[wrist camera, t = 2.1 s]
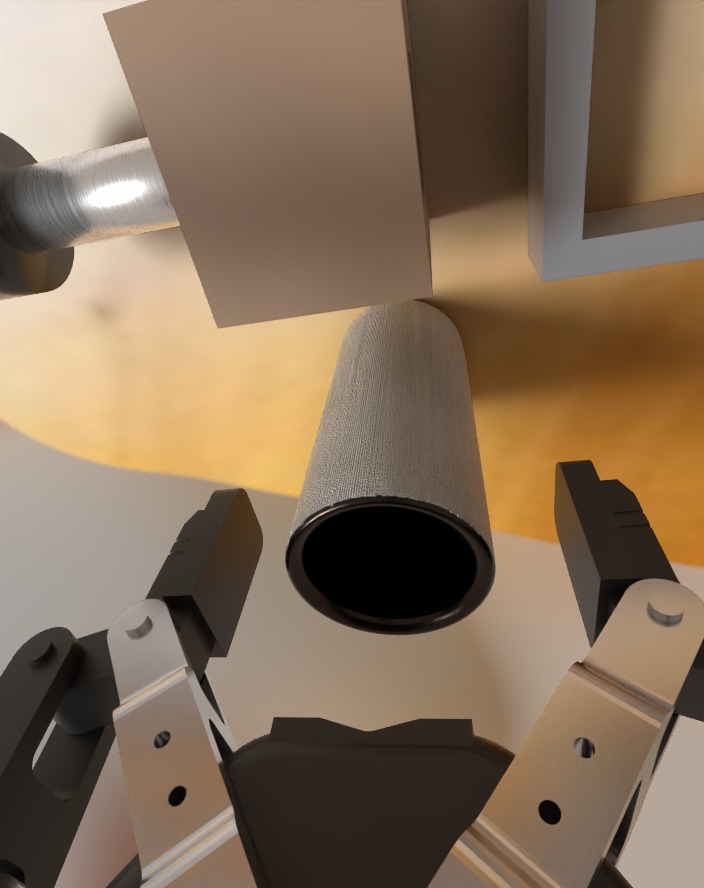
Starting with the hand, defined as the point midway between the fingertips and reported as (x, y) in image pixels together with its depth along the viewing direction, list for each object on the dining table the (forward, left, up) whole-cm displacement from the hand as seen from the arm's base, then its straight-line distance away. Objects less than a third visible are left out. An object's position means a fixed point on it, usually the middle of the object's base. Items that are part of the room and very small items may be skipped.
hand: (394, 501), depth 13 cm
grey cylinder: (0, 0, -8) cm, 8 cm away
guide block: (-8, -1, -8) cm, 11 cm away
